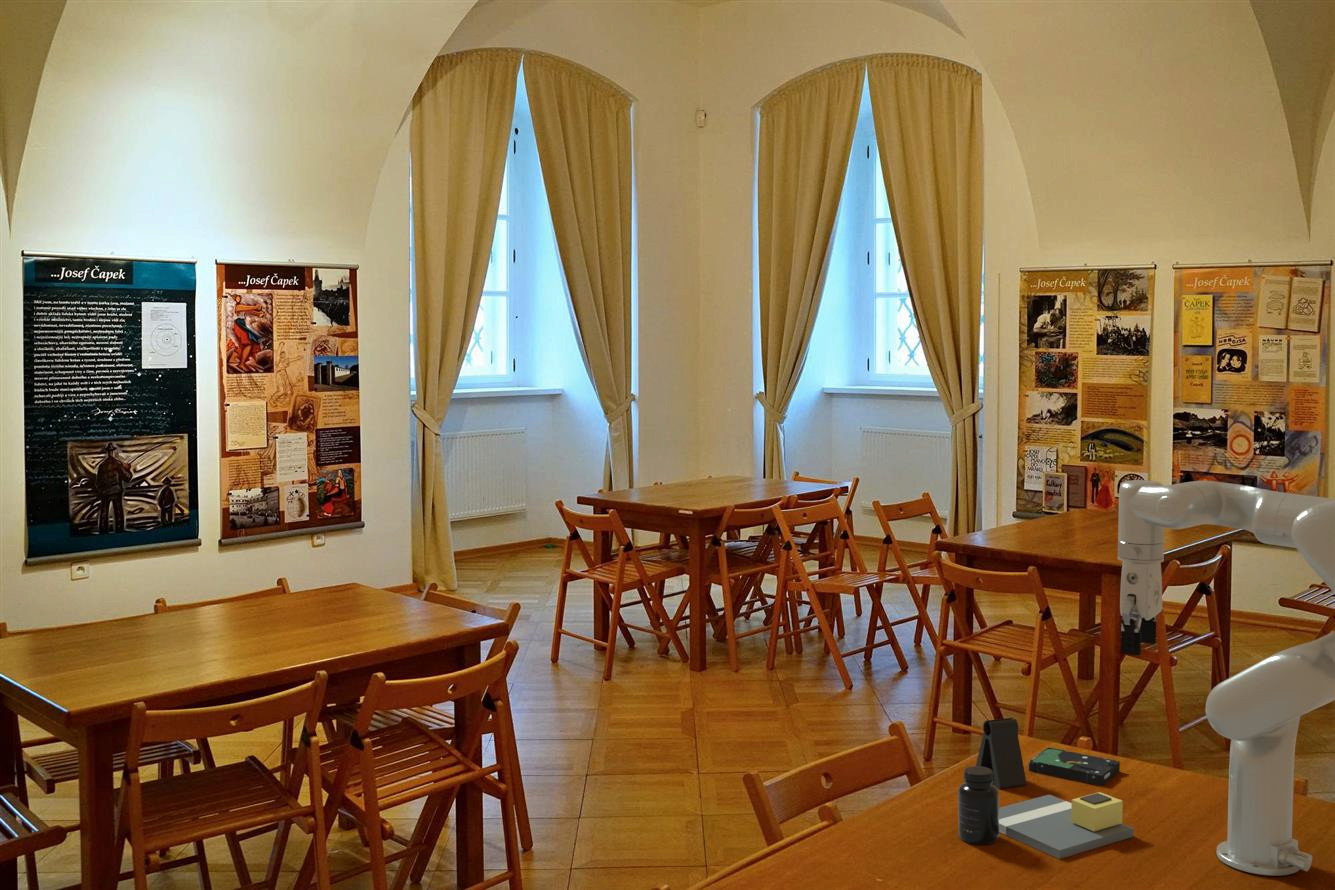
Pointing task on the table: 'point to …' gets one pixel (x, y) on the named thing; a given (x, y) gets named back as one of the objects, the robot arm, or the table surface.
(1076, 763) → the disk drive
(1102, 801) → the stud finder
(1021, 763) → the phone stand
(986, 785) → the supplement bottle
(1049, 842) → the board
